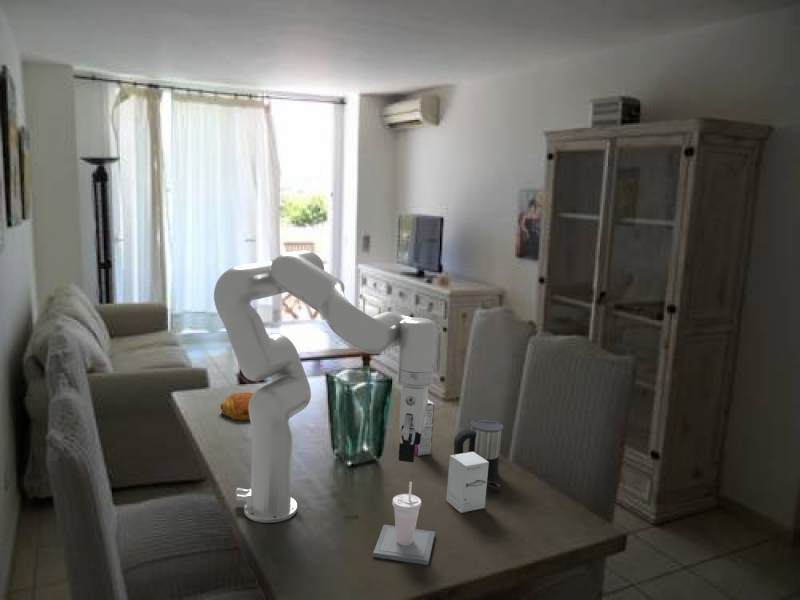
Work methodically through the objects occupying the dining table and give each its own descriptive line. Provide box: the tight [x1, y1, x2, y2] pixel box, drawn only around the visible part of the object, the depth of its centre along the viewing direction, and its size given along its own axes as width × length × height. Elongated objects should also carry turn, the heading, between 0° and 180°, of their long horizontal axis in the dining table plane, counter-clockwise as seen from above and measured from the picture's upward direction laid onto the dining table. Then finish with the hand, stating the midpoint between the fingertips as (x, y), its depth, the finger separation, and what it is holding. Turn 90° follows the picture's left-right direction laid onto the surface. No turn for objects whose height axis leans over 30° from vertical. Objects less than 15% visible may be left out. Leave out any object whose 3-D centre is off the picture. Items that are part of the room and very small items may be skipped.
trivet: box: [372, 524, 436, 566], centre depth 141 cm, size 12×12×1 cm
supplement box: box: [445, 451, 489, 514], centre depth 161 cm, size 7×7×13 cm
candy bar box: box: [414, 398, 435, 457], centre depth 194 cm, size 11×5×16 cm, turn 22°
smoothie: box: [392, 481, 422, 545], centre depth 140 cm, size 6×6×14 cm
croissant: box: [220, 392, 255, 421], centre depth 216 cm, size 14×16×8 cm
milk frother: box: [453, 418, 504, 492], centre depth 175 cm, size 14×16×15 cm
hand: (409, 451), depth 138 cm, fingers open, 9 cm apart
